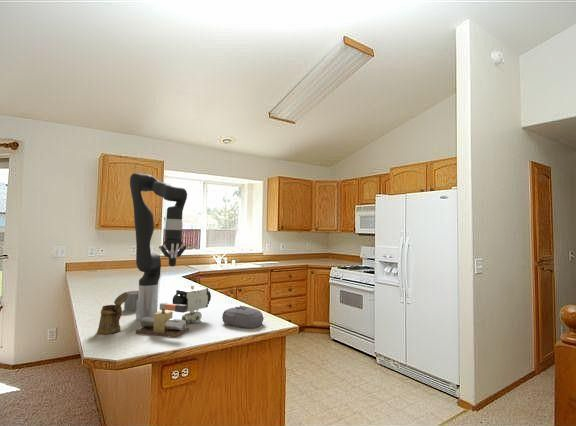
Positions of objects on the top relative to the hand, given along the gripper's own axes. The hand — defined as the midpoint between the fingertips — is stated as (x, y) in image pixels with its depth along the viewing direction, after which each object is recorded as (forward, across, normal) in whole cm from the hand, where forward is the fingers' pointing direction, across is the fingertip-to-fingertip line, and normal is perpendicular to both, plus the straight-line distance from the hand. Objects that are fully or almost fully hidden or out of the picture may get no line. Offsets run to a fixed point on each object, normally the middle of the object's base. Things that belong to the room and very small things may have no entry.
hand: (172, 266), depth 153 cm
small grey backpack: (+28, +29, -18) cm, 45 cm away
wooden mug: (+29, -21, +12) cm, 37 cm away
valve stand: (+28, -4, -3) cm, 29 cm away
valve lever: (+18, -3, -8) cm, 20 cm away
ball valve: (+29, +13, +2) cm, 32 cm away
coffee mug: (+30, +4, +50) cm, 58 cm away
